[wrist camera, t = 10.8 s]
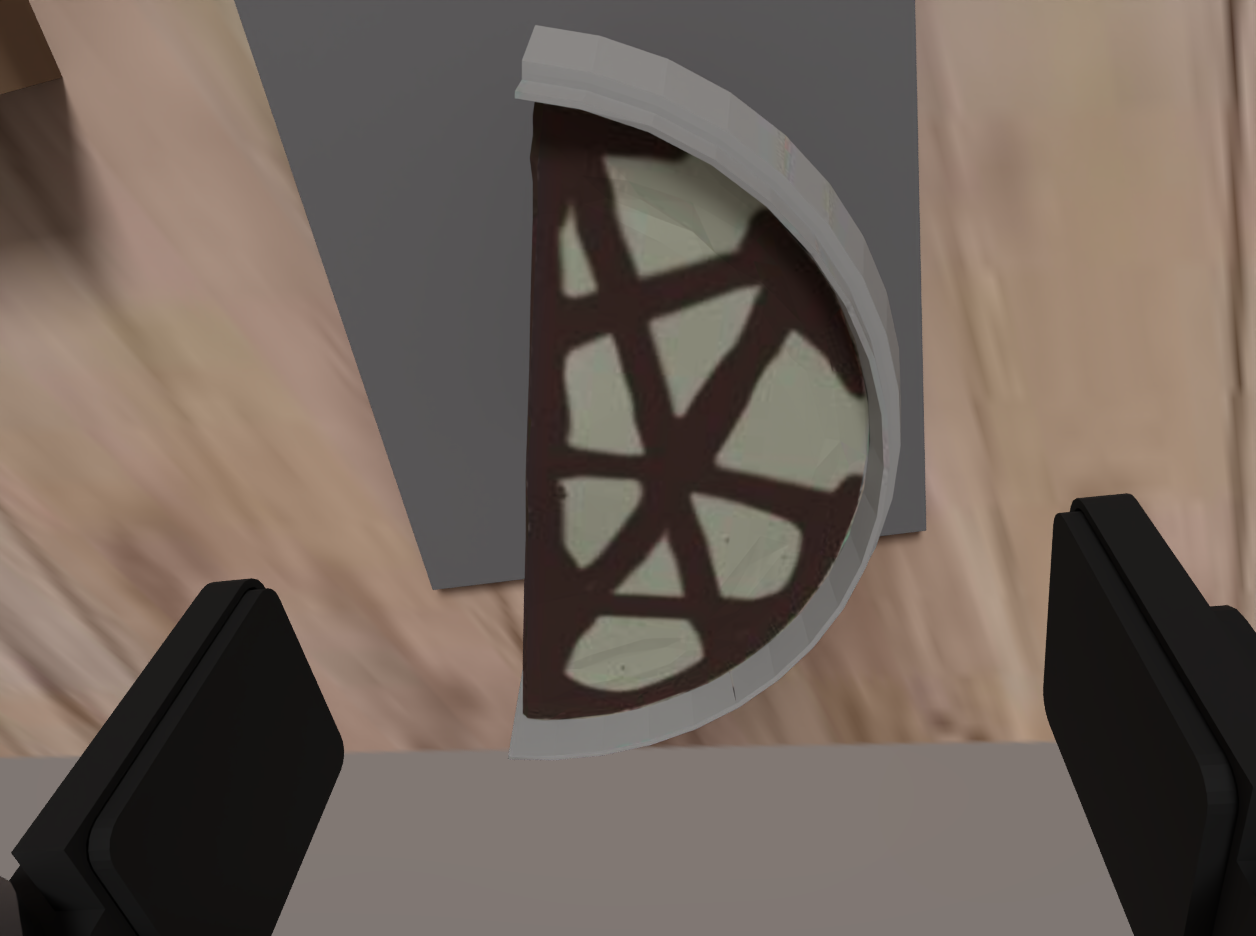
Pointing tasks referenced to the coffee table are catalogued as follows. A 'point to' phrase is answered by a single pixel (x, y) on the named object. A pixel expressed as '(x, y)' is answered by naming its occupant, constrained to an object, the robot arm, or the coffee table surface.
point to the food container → (686, 402)
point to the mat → (503, 208)
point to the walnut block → (23, 48)
